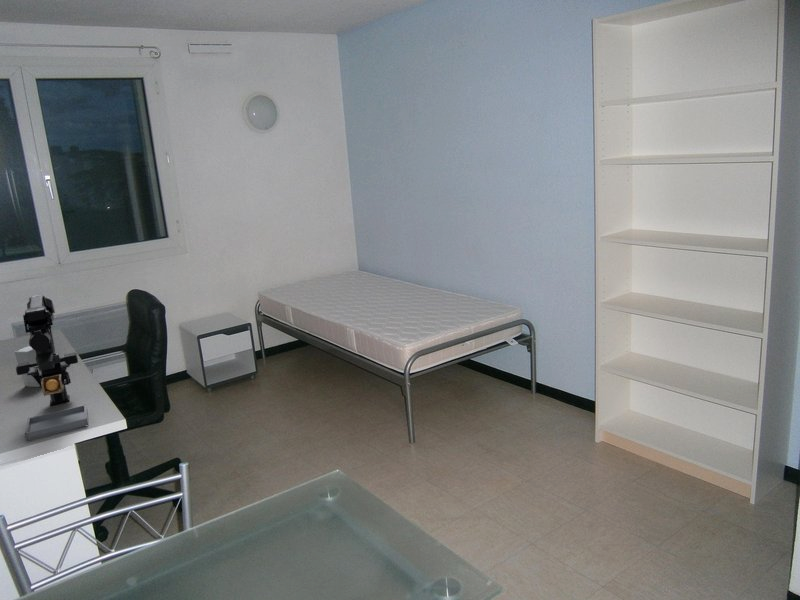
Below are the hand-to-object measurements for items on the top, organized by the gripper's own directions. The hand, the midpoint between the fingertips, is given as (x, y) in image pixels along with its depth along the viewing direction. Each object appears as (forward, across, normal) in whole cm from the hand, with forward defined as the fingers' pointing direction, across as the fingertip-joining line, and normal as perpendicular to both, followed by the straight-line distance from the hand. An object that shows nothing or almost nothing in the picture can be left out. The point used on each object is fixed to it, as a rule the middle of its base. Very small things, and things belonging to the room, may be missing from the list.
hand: (53, 386), depth 217 cm
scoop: (+2, 0, 0) cm, 2 cm away
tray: (+10, 0, -13) cm, 16 cm away
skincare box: (+10, -9, +44) cm, 46 cm away
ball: (-1, 0, -2) cm, 2 cm away
